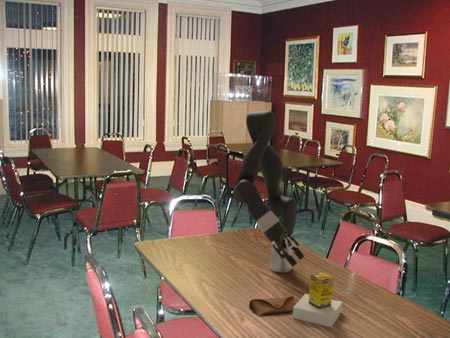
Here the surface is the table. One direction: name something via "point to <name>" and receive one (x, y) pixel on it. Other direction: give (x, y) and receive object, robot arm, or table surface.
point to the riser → (317, 312)
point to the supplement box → (321, 290)
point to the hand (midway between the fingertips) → (298, 261)
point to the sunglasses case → (272, 306)
